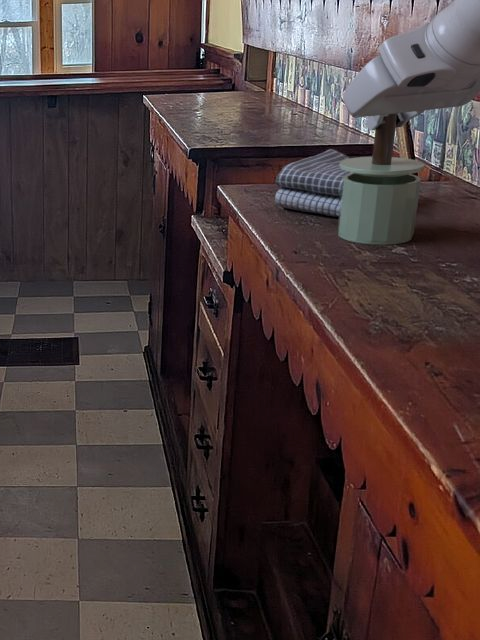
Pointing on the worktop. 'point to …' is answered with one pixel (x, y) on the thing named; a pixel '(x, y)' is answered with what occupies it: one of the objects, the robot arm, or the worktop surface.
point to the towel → (312, 184)
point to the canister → (378, 209)
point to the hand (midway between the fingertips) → (382, 125)
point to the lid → (383, 156)
